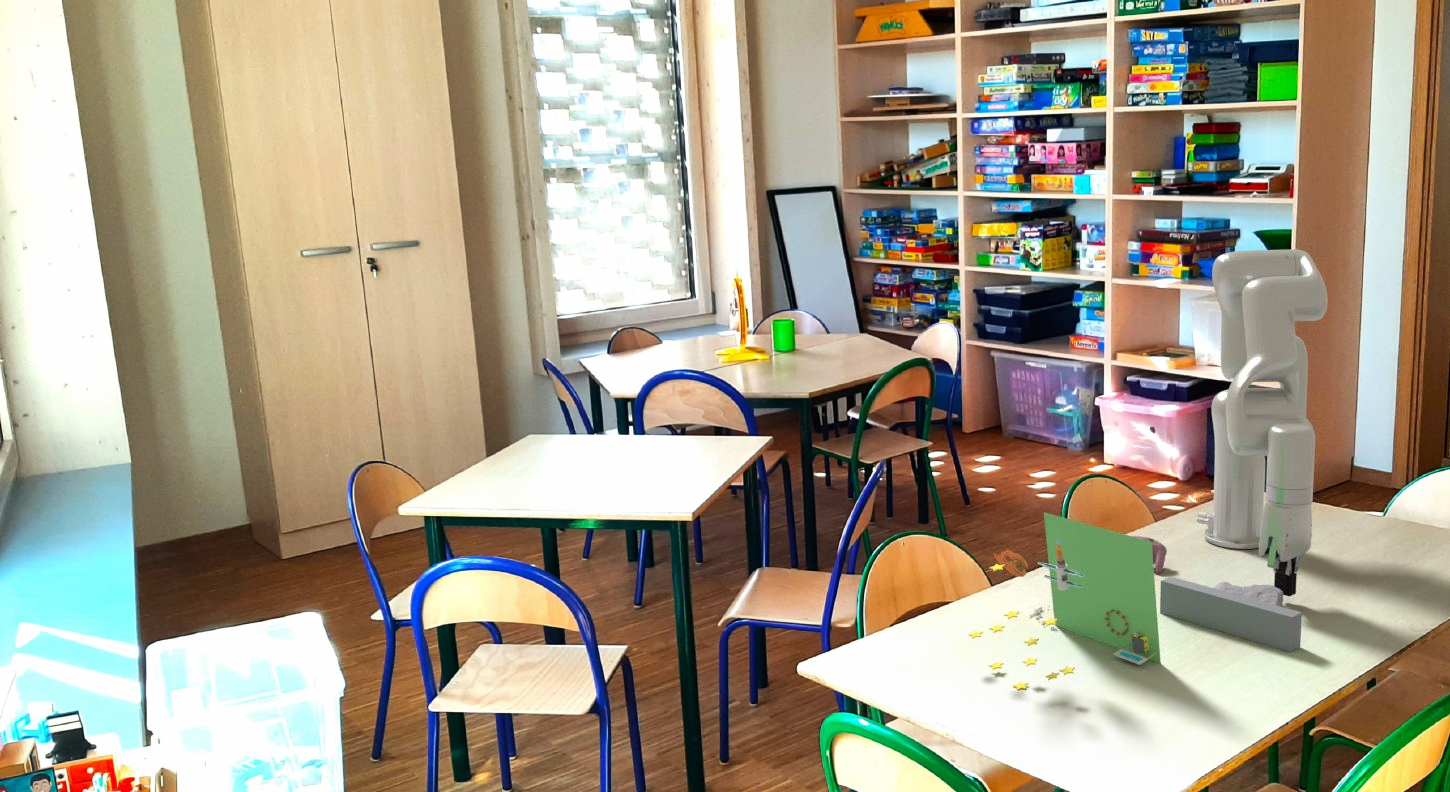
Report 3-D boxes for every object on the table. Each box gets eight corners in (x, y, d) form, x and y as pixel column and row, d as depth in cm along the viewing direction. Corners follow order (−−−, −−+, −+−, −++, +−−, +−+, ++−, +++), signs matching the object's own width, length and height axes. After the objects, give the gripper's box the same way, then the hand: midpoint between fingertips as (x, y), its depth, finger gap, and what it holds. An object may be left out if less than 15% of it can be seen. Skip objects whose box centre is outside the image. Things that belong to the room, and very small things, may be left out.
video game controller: (1165, 576, 244) (1170, 541, 246) (1160, 573, 241) (1165, 537, 242) (1114, 569, 250) (1119, 534, 251) (1108, 565, 246) (1113, 530, 247)
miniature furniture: (1121, 591, 235) (1121, 583, 235) (1056, 633, 217) (1056, 625, 217) (1085, 583, 240) (1085, 575, 239) (1019, 624, 222) (1019, 616, 221)
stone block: (1280, 634, 216) (1284, 603, 224) (1280, 610, 214) (1284, 580, 222) (1207, 628, 221) (1213, 598, 230) (1206, 604, 220) (1212, 575, 228)
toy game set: (956, 682, 207) (939, 549, 200) (1057, 624, 220) (1044, 498, 213) (1059, 728, 189) (1045, 585, 183) (1162, 662, 202) (1152, 526, 196)
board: (1160, 612, 223) (1160, 580, 221) (1169, 608, 224) (1170, 576, 223) (1290, 652, 204) (1292, 617, 203) (1300, 646, 206) (1301, 612, 204)
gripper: (1290, 481, 228) (1286, 578, 232) (1246, 498, 219) (1242, 598, 223) (1331, 489, 222) (1326, 588, 226) (1287, 507, 213) (1283, 609, 217)
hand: (1284, 593), depth 224 cm, fingers closed
